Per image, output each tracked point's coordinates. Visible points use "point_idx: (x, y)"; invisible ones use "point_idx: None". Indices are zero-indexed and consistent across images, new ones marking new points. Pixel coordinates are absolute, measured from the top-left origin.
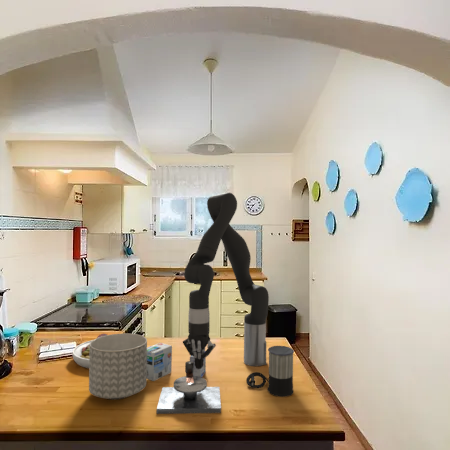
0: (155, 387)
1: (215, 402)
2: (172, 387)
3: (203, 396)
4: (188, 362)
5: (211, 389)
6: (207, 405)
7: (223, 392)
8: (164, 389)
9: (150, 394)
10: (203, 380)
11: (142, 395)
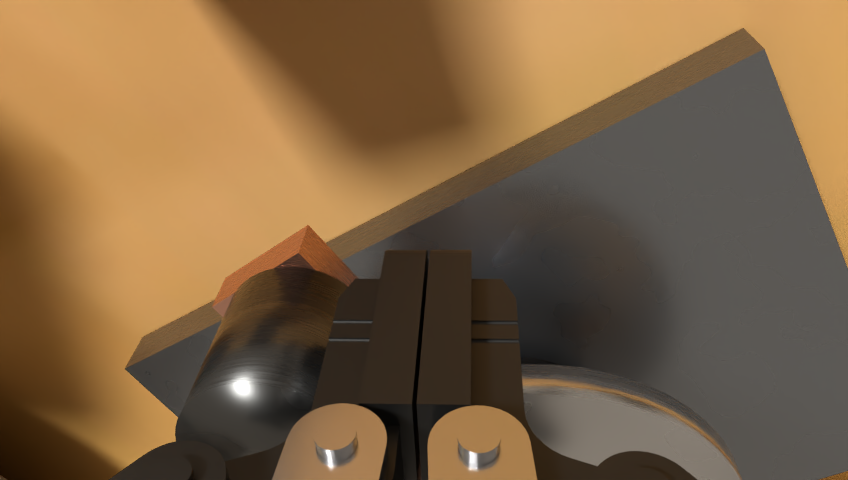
0: (5, 300)
1: (829, 395)
2: (212, 331)
3: (651, 350)
4: (232, 442)
5: (676, 176)
6: (763, 459)
7: (815, 34)
8: (181, 392)
9: (104, 412)
10: (668, 456)
11: (69, 447)
